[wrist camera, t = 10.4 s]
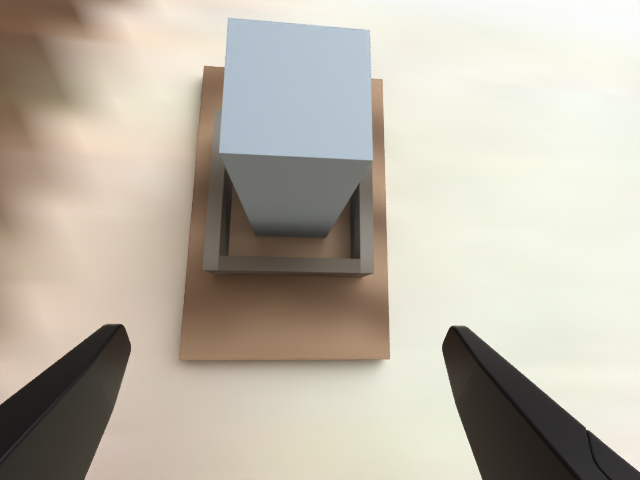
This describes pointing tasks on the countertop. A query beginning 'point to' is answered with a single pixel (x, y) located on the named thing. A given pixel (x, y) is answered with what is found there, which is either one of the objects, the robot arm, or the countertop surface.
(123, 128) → the countertop surface
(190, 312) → the jig cradle
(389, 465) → the countertop surface
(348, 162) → the block
